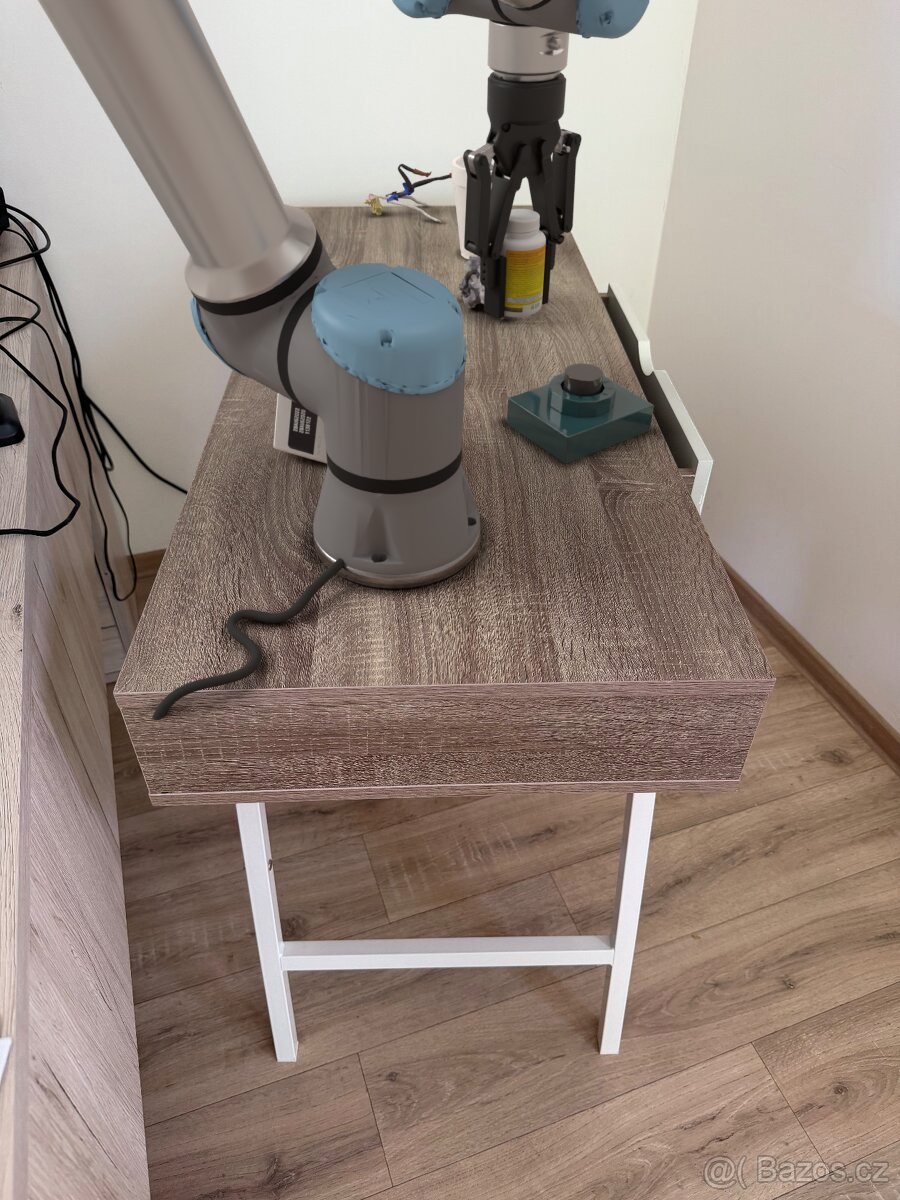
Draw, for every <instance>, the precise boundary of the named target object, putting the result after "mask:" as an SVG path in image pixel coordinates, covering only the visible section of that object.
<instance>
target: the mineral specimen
mask: <svg viewBox="0 0 900 1200" xmlns="http://www.w3.org/2000/svg"><path fill="white" fill-rule="evenodd" d="M460 281H461V282H460V283H459V284H458V286H457V287H458V291H459V296H460V297H461V298H462V301H463V304H464V305H465V306H466V307H467V308H468V309H473V308H475V307H476V305H479V304H483V305H484V287H485V286H483V285H481V282H480V257H479V256H475V257H474V256H471V255H470V256H469V259H468V261H466V262H465V263H464V264H463V275H462V278H461V280H460ZM505 318H506V316H505V315H504V317H503V318H500V319H499V320H502V321H503V320H504V319H505Z"/></svg>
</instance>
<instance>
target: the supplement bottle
mask: <svg viewBox="0 0 900 1200" xmlns="http://www.w3.org/2000/svg"><path fill="white" fill-rule="evenodd" d="M539 221H540V215H539V214H538V213H537V212H535V211H533V209H527V208H514V209H513V208H512V210H511V214H510V218H509V222H508V226H507V230H506V234H505V238H504V242H503V246H502V250H501V254H500V255H502V256H504V257H506V258H507V263H506V289H505V317H510V318H525V317H531V316H533V315H535V314H537V313H538V312H539V311H540V310H541V309H542V306H543V304H542V297H543V280H544V263H545V247H546V237H545V235H544V234H543V232H541V231H540V230H539V227H540V224H539Z"/></svg>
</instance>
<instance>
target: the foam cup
mask: <svg viewBox="0 0 900 1200" xmlns="http://www.w3.org/2000/svg"><path fill="white" fill-rule="evenodd" d="M491 164H492V165H494V160H493V158H492V161H491ZM451 173H452V178H451V182H452V184H453V185H452V186H453V193H454V203H455V204H454V205H455V211H456V222H457V231H458V239H459V249H460V255H461V257H462V258H464V259H466V260H469V256H470V255H471V256H474V257H475V256H477V255H475V254H473V253H471V252H469V251H467V250H465V248H464V237H465V213H466V189H467V173H466V169H465V165H464V160H463V155H459V156H456V157H454V158H453V159H452V160H451ZM490 173H491V174H492V171H490ZM504 177H505V178H507V179H510V178H509V177H507V176H504ZM491 188H492V183H491ZM490 244H491V243H490Z"/></svg>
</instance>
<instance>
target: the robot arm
mask: <svg viewBox="0 0 900 1200" xmlns="http://www.w3.org/2000/svg"><path fill="white" fill-rule="evenodd" d="M37 1H38V3H39V5H40V6H41V8H42V10H43V11H44V14H45V15H46V16H47V18H48V20H49V21H50V23H51V25H52V26H53V28H54V30H55V31H56V33H57V35H58V36H59V38H60V40H61V41H62V43H63V45H64V46H65V48H66V50H67V51H68V53H69V55H70V56H71V59H72V60H73V61H74V63H75V65H76V66H77V68H78V70H79V71H80V73H81V75H82V77H83V78H84V80H85V82H86V83H87V85H88V87H89V88H90V90H91V92H92V93H93V95H94V97H95V98H96V100H97V102H98V103H99V106H100V107H101V108H102V110H103V111H104V113H105V115H106V117H107V118H108V120H109V121H110V123H111V125H112V127H113V128H114V130H115V132H116V133H117V135H118V137H119V139H120V140H121V142H122V144H123V145H124V147H125V148H126V150H127V152H128V153H129V155H130V157H131V158H132V160H133V162H134V163H135V165H136V167H137V168H138V170H139V172H140V173H141V175H142V177H143V178H144V180H145V182H146V184H147V185H148V187H149V188H150V190H151V191H152V193H153V195H154V197H155V198H156V200H157V202H158V204H159V205H160V207H161V208H162V210H163V212H164V213H165V215H166V217H167V218H168V221H169V222H170V224H171V225H172V227H173V228H174V230H175V232H176V233H177V235H178V237H179V239H180V240H181V242H182V244H183V245H184V248H185V249H186V250H187V252H188V254H189V255H188V258H187V260H186V263H185V266H184V281H185V283H186V285H187V288H188V290H189V291H190V292H191V294H192V296H193V297H192V298H191V299H190V302H189V303H190V311H191V317H192V320H193V323H194V327H195V328H196V331H197V333H198V336H199V337H200V339H201V340H202V342H203V343H204V345H205V346H206V347H207V348H208V350H209V351H210V352H212V353H213V354H214V355H215V356H216V357H217V358H218V359H219V360H220V361H221V362H222V363H223V364H224V365H225V366H227V367H228V368H229V369H231V370H232V371H234V372H236V373H238V375H241V376H243V377H246V378H248V379H252V380H253V381H256V382H257V383H259V384H260V385H263V386H264V387H266V388H268V389H270V390H272V391H273V392H275V393H277V394H278V393H279V394H281V395H283V396H284V397H286V398H288V399H290V400H292V401H294V402H295V403H297V404H299V405H300V406H302V407H304V408H306V409H307V410H309V411H311V412H313V413H314V414H316V415H318V416H320V418H321V419H322V421H323V423H324V434H325V444H326V454H327V463H326V466H327V468H326V472H325V475H324V478H323V481H322V482H323V483H322V486H321V490H320V494H319V498H318V502H317V506H316V509H315V510H314V516H313V522H312V534H313V543H314V549H315V551H316V554H317V556H318V558H319V559H320V561H321V562H322V563H323V564H324V566H325V567H327V568H326V569H325V570H324V571H323V572H322V573H321V574H320V575H319V576H318V577H317V578H315V580H313V582H311V584H310V585H308V587H307V588H306V589H305V590H304V591H303V592H302V594H301V595H300V597H299V598H298V599H297V600H296V602H294V603H293V605H292V606H291V607H289V608H287V609H286V610H284V611H281V612H276V613H275V612H274V613H273V612H266V611H260V610H256V609H247V608H246V609H239V610H236V611H235V612H233V613H232V614H231V615H230V616H229V617H228V618H227V620H226V624H225V627H226V630H227V632H228V634H229V635H230V637H232V639H234V641H236V642H237V643H239V644H240V645H241V646H242V647H243V648H245V649H246V650H247V651H248V652H249V654H250V660H248V662H247V663H246V664H245V665H243V666H242V667H241V668H238V669H235V670H233V671H230V672H227V673H222V674H218V675H214V676H209V677H204V678H200V679H197V680H193V681H190V682H187V683H184V684H183V685H180V686H178V687H176V688H175V689H174V690H172V691H171V692H169V693H168V694H167V695H166V696H165V697H164V698H163V699H162V701H161V702H160V703H159V704H158V706H157V707H156V709H155V710H154V712H153V714H152V717H151V718H152V720H153V721H159V720H162V719H163V718H165V716H166V714H167V713H168V712H169V710H170V709H171V708H172V707H173V706H174V704H176V703H177V702H178V701H179V700H181V699H182V698H184V697H186V696H188V695H190V694H193V693H196V692H199V691H202V690H206V689H211V688H214V687H215V688H216V687H220V686H225V685H228V684H233V683H236V682H238V681H242V680H244V679H246V678H248V677H249V676H250V675H252V674H253V673H255V671H256V670H257V668H258V667H259V666H260V664H261V661H262V658H263V657H262V651H261V649H260V648H259V646H258V645H257V643H256V642H255V641H254V640H253V639H251V637H249V636H248V635H246V634H245V633H244V632H242V630H241V629H240V628H238V626H237V625H238V623H239V622H240V621H243V620H252V621H257V622H262V623H268V624H279V623H285V622H286V621H289V620H291V619H293V618H295V617H296V616H297V615H299V614H300V613H301V612H302V611H303V610H304V609H305V607H307V605H308V604H309V602H310V601H311V600H312V599H313V597H314V596H315V595H316V593H317V592H319V591H320V590H321V588H323V587H324V585H326V584H327V583H328V582H329V581H330V580H331V579H332V578H333V577H334V576H336V575H338V576H339V577H342V578H343V579H345V580H348V581H350V582H352V583H356V584H359V585H363V586H368V587H373V588H381V589H408V588H416V587H421V586H426V585H430V584H434V583H436V582H440V581H443V580H444V579H447V578H449V577H451V576H453V575H454V574H456V573H458V572H460V571H461V570H462V569H463V568H464V567H466V566H467V565H468V564H469V563H470V562H471V560H472V559H473V558H474V556H475V555H476V554H477V551H478V550H479V546H480V542H481V525H482V524H481V517H480V512H479V508H478V506H477V502H476V500H475V497H474V494H473V491H472V489H471V486H470V483H469V480H468V478H467V475H466V471H465V468H464V465H463V435H464V434H463V432H464V410H465V409H464V405H465V383H466V381H465V379H466V361H467V343H466V339H465V331H464V316H463V312H462V308H461V306H460V303H459V301H458V299H457V297H456V296H455V295H454V294H453V292H452V291H451V290H450V289H449V288H448V287H447V286H446V285H444V283H442V282H441V281H439V280H438V279H436V278H435V277H433V276H431V275H429V274H427V273H425V272H422V271H420V270H418V269H414V268H411V267H407V266H403V265H397V266H394V267H391V266H388V265H387V264H386V263H383V262H363V263H354V264H349V265H345V266H343V267H340V268H337V267H336V266H335V265H334V263H333V262H332V260H331V258H330V256H329V253H328V251H327V249H326V247H325V245H324V242H323V240H322V238H321V235H320V234H319V232H318V229H317V228H316V225H315V223H314V221H313V219H312V217H311V216H310V215H309V214H308V213H307V212H306V211H304V210H303V209H301V208H300V207H296V206H293V205H289V204H286V203H284V200H283V198H282V196H281V195H280V191H279V190H278V188H277V186H276V184H275V181H274V180H273V177H272V176H271V173H270V170H269V168H268V167H267V164H266V162H265V161H264V159H263V156H262V154H261V152H260V150H259V148H258V145H257V144H256V142H255V139H254V137H253V135H252V133H251V131H250V128H249V127H248V125H247V123H246V120H245V118H244V116H243V114H242V112H241V110H240V107H239V106H238V103H237V102H236V99H235V97H234V95H233V93H232V90H231V89H230V87H229V85H228V82H227V80H226V78H225V76H224V74H223V72H222V69H221V67H220V65H219V63H218V61H217V59H216V56H215V55H214V52H213V51H212V48H211V46H210V44H209V42H208V40H207V37H206V36H205V33H204V31H203V29H202V27H201V25H200V22H199V21H198V19H197V16H196V14H195V12H194V10H193V8H192V6H191V4H190V2H189V0H37ZM391 1H392V3H393V5H394V6H395V7H396V8H397V9H398V11H400V12H401V13H402V14H404V15H406V16H407V17H409V18H412V19H428V18H429V19H430V18H431V19H435V20H439V19H442V17H444V16H447V15H460V16H466V17H472V18H478V19H483V20H488V33H487V34H488V35H487V36H488V37H487V38H488V39H487V66H488V67H489V69H490V70H492V72H491V73H490V74H489V75H488V77H487V91H486V93H487V94H486V113H487V116H488V119H489V123H490V124H489V125H490V127H489V131H488V135H487V137H486V141H485V144H483V145H482V146H481V147H479V148H477V149H476V150H473V149H468V148H467V149H466V150H465V151H464V152H463V155H462V156H463V160H464V165H465V169H466V173H467V189H466V213H465V237H464V248H465V250H467V251H469V252H471V253H473V254H475V255H477V256H479V257H480V282H481V285H483V286H485V287H484V304H483V311H484V312H485V313H488V314H489V315H491V316H493V317H495V318H497V319H499V320H501V319H500V318H503V317H504V315H505V289H506V263H507V258H506V257H504V256H502V255H500V254H501V250H502V246H503V242H504V238H505V234H506V230H507V226H508V222H509V218H510V214H511V210H513V205H514V201H515V197H516V193H517V192H519V191H520V189H521V188H522V183H523V179H525V178H526V179H527V183H528V188H529V194H530V195H529V196H530V200H531V205H532V210H533V211H535V212H537V213H538V214H539V215H540V221H539V224H540V227H539V230H540V231H541V232H543V234H544V235H545V237H546V247H545V263H544V280H543V297H542V305H546V304H549V298H550V285H551V283H550V282H551V271H552V270H554V267H555V263H556V251H557V245H562V244H563V243H564V242H565V235H564V233H565V234H569V233H570V232H571V231H572V230H573V226H574V213H575V212H574V209H575V190H576V172H577V171H576V170H577V157H578V155H579V151H580V148H581V144H582V135H581V133H577V132H574V131H571V130H568V129H565V128H561V125H560V121H559V120H561V118H562V117H563V116H564V113H565V104H566V91H567V89H566V88H567V77H566V76H565V75H564V73H562V71H564V70H565V69H566V68H567V66H568V58H569V57H568V56H569V45H570V44H569V43H570V34H571V35H577V36H581V38H582V39H586V40H588V39H591V38H601V39H608V40H609V39H610V40H615V39H619V38H622V37H623V36H625V35H628V34H629V33H630V32H632V31H633V30H634V29H635V27H637V25H638V24H639V23H640V21H641V20H642V19H643V17H644V15H645V14H646V11H647V9H648V6H649V4H650V0H391ZM492 158H493V160H494V165H492V164H491V161H492ZM490 171H492V174H491V173H490ZM504 176H507V177H509V178H510V179H507V178H505V177H504ZM491 183H492V188H491ZM490 243H491V244H490Z"/></svg>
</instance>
